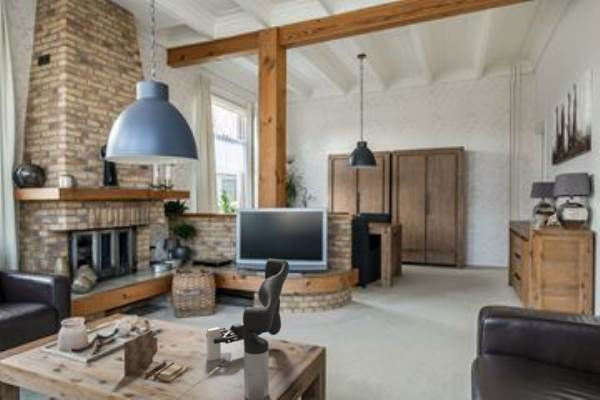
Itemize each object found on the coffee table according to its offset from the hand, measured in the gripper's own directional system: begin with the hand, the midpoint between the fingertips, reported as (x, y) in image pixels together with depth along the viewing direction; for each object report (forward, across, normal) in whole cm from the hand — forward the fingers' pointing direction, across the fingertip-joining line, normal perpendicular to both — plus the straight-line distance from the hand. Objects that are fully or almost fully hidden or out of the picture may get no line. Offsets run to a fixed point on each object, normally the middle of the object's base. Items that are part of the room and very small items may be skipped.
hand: (210, 338), depth 184 cm
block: (-2, 0, +10) cm, 10 cm away
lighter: (+20, -26, +11) cm, 34 cm away
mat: (-2, 0, +10) cm, 11 cm away
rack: (+22, 0, +10) cm, 25 cm away
